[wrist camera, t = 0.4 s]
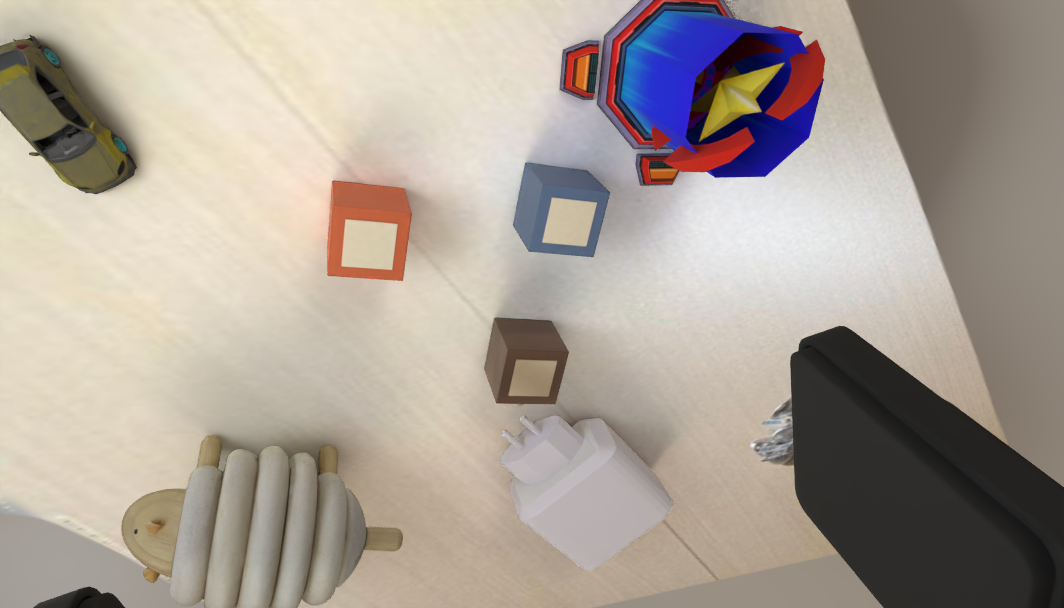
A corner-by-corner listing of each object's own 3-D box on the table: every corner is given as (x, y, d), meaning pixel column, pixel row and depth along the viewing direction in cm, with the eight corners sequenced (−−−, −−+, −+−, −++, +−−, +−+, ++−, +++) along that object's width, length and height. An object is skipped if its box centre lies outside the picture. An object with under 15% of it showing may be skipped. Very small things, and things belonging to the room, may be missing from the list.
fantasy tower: (653, 201, 47) (745, 280, 37) (542, 69, 41) (615, 120, 31) (792, 75, 45) (928, 120, 35) (697, -83, 39) (828, -83, 29)
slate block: (525, 162, 43) (543, 184, 40) (587, 170, 44) (611, 192, 41) (512, 225, 45) (529, 252, 41) (573, 231, 46) (594, 258, 43)
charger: (553, 366, 51) (653, 469, 59) (457, 441, 52) (568, 533, 60) (572, 404, 47) (677, 509, 55) (468, 485, 48) (586, 577, 56)
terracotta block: (332, 180, 41) (332, 205, 37) (404, 188, 42) (411, 213, 38) (327, 246, 42) (327, 276, 39) (396, 251, 44) (403, 281, 40)
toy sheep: (141, 402, 44) (92, 533, 35) (407, 413, 50) (426, 528, 40) (142, 526, 49) (98, 672, 39) (386, 523, 54) (398, 650, 45)
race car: (86, 200, 38) (72, 217, 36) (-33, 62, 34) (-58, 71, 32) (147, 169, 38) (136, 184, 36) (35, 27, 34) (16, 34, 32)
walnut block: (494, 317, 48) (508, 350, 44) (551, 320, 49) (569, 352, 46) (484, 368, 50) (496, 404, 46) (539, 370, 51) (556, 405, 47)
